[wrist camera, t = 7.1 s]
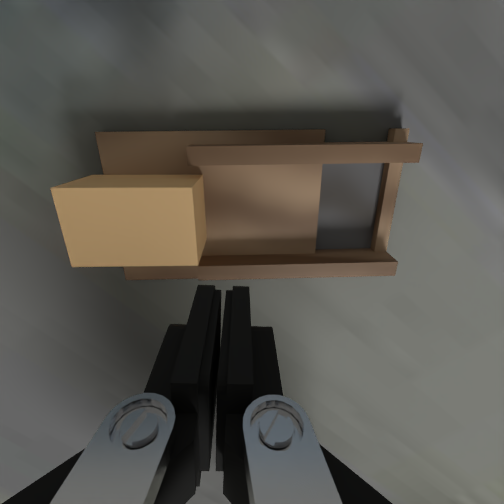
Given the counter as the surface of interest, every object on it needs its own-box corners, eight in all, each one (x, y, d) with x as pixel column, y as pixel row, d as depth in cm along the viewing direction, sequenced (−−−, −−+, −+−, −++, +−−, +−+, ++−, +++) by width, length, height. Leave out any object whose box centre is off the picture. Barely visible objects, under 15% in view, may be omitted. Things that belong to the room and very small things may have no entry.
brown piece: (376, 268, 26) (392, 285, 23) (130, 274, 25) (116, 292, 23) (402, 128, 21) (426, 128, 19) (101, 131, 21) (79, 132, 18)
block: (206, 238, 23) (198, 265, 19) (105, 239, 23) (71, 267, 18) (202, 174, 21) (191, 187, 17) (92, 174, 21) (50, 187, 16)
